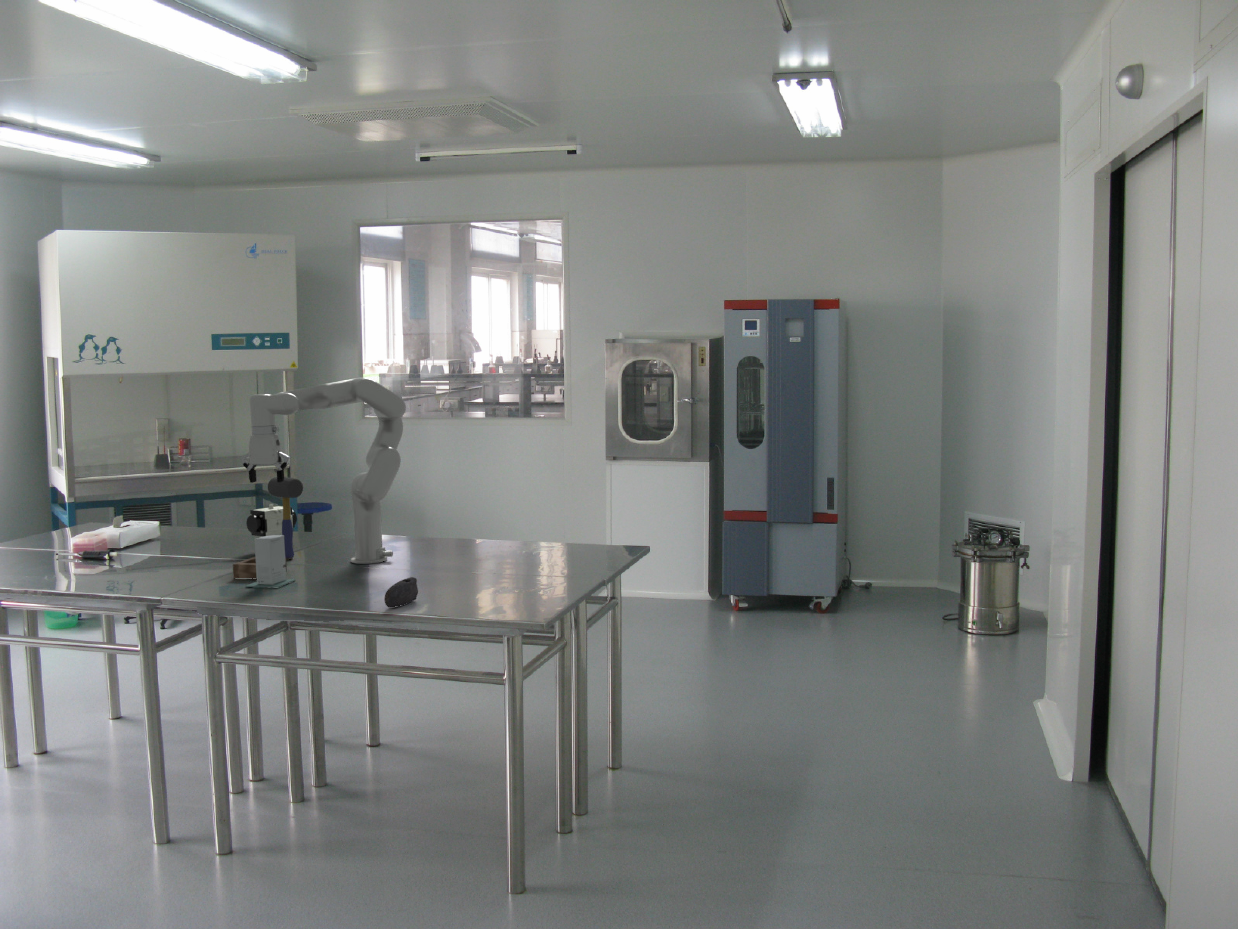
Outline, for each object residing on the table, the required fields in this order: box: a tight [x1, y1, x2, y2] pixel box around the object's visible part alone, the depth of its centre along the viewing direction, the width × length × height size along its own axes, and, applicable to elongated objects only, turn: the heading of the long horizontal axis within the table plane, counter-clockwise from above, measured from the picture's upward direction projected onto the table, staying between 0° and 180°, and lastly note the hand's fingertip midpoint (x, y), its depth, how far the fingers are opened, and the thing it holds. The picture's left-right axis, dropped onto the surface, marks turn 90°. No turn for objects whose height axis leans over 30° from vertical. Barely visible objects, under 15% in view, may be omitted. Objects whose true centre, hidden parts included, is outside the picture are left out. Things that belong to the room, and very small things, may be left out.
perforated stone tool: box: [384, 576, 419, 608], centre depth 285 cm, size 15×5×7 cm, turn 157°
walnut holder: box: [232, 556, 288, 579], centre depth 331 cm, size 12×14×5 cm
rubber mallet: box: [267, 476, 304, 561], centre depth 358 cm, size 12×8×30 cm, turn 55°
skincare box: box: [254, 534, 287, 585], centre depth 316 cm, size 8×6×15 cm
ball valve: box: [246, 503, 298, 537], centre depth 378 cm, size 18×8×18 cm, turn 147°
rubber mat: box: [245, 578, 296, 588], centre depth 317 cm, size 11×11×1 cm
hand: (266, 482), depth 333 cm, fingers open, 9 cm apart
